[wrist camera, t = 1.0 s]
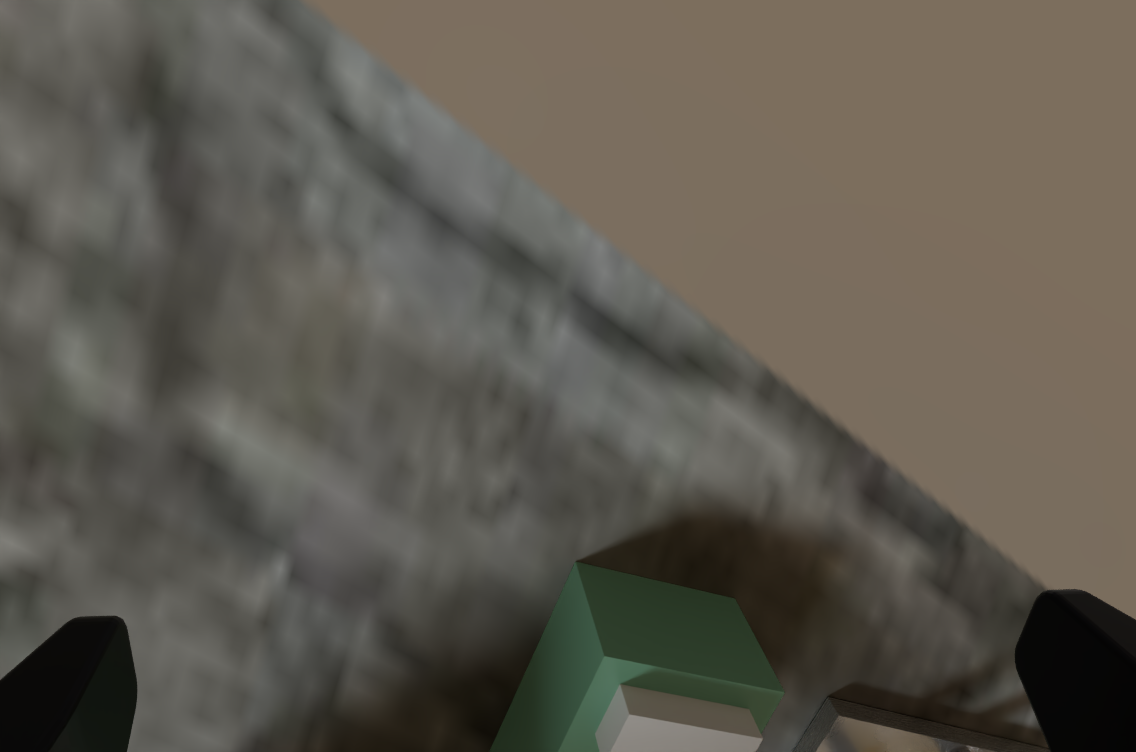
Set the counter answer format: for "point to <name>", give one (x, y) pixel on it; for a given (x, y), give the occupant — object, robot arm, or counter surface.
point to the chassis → (893, 733)
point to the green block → (641, 672)
